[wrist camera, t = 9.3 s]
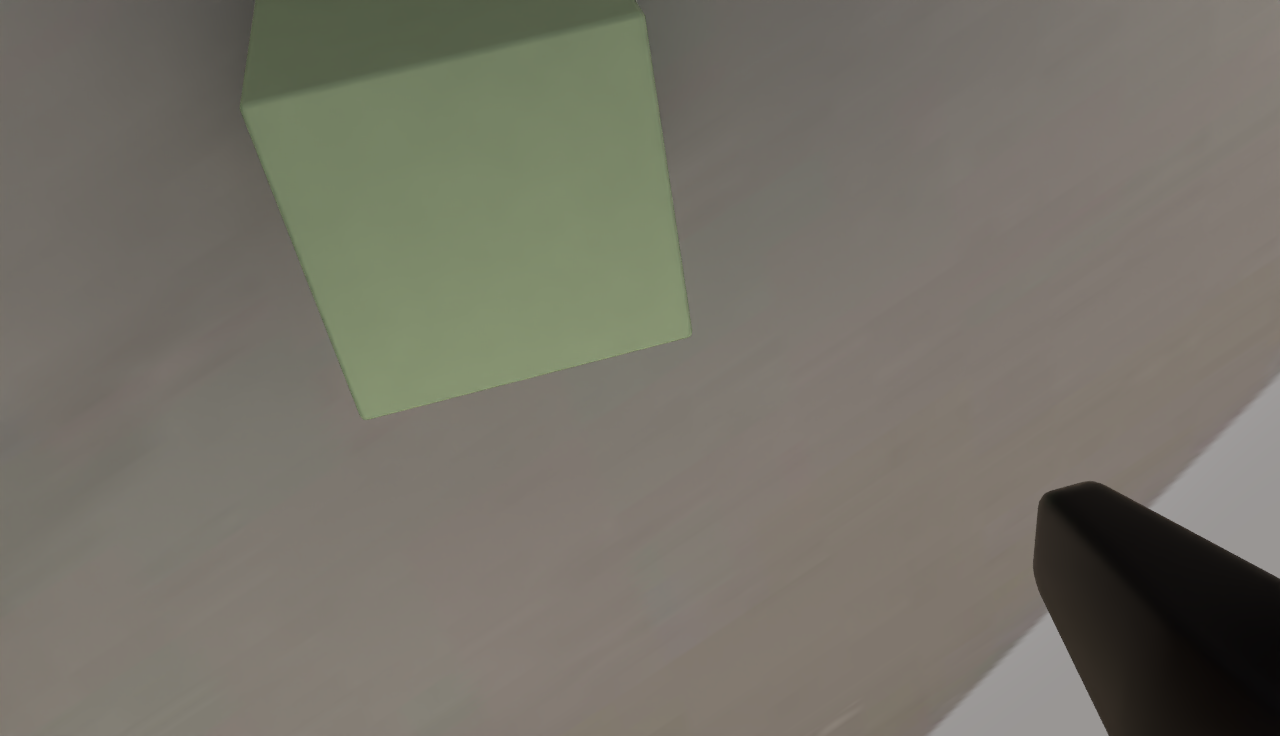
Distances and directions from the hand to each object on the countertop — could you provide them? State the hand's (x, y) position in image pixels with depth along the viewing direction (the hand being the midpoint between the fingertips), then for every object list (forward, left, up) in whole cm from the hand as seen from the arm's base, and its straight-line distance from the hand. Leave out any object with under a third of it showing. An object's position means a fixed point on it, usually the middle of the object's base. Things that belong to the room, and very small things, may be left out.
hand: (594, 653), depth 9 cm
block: (0, 0, -11) cm, 11 cm away
